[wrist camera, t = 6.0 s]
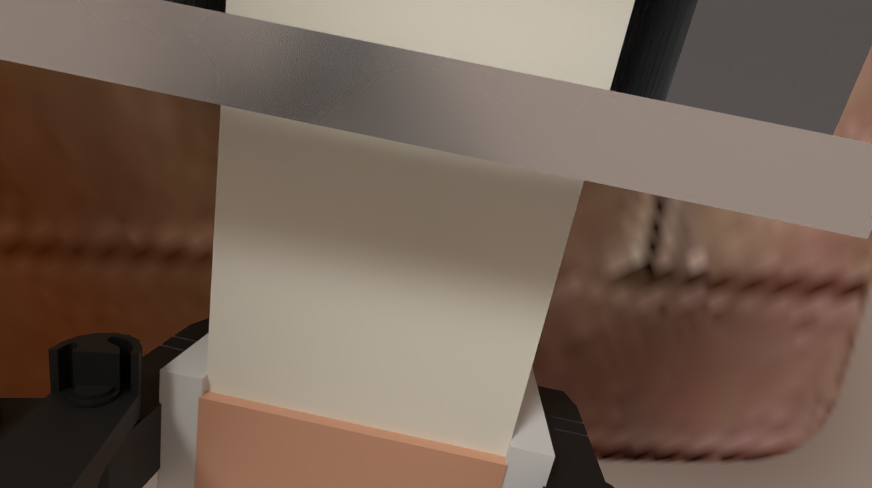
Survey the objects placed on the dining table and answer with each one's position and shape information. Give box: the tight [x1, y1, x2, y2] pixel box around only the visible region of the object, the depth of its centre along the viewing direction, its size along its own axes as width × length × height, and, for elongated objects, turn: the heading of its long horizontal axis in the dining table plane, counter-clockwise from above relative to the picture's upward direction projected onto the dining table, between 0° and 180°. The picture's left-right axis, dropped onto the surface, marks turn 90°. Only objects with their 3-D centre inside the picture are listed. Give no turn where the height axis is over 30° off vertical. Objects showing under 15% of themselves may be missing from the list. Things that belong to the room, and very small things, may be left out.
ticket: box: [194, 0, 635, 488], centre depth 8 cm, size 5×14×3 cm, turn 169°
